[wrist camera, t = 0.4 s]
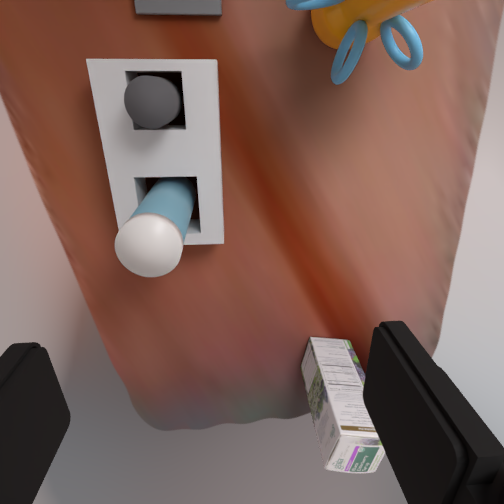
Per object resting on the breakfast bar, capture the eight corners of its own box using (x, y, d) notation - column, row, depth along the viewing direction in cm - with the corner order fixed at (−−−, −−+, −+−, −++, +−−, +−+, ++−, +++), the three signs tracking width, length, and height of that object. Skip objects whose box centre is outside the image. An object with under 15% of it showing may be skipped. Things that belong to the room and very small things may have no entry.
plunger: (138, 77, 28) (119, 75, 24) (180, 77, 29) (171, 75, 24) (144, 122, 30) (128, 129, 25) (184, 121, 30) (176, 128, 25)
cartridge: (150, 173, 34) (108, 219, 22) (194, 172, 34) (178, 217, 22) (155, 215, 36) (120, 278, 24) (198, 214, 36) (184, 276, 24)
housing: (103, 62, 29) (85, 58, 26) (217, 62, 30) (216, 59, 26) (132, 230, 36) (121, 246, 33) (224, 228, 37) (223, 243, 33)
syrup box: (337, 369, 48) (379, 475, 35) (298, 366, 47) (325, 473, 34) (349, 338, 45) (398, 439, 32) (307, 335, 45) (340, 437, 32)
